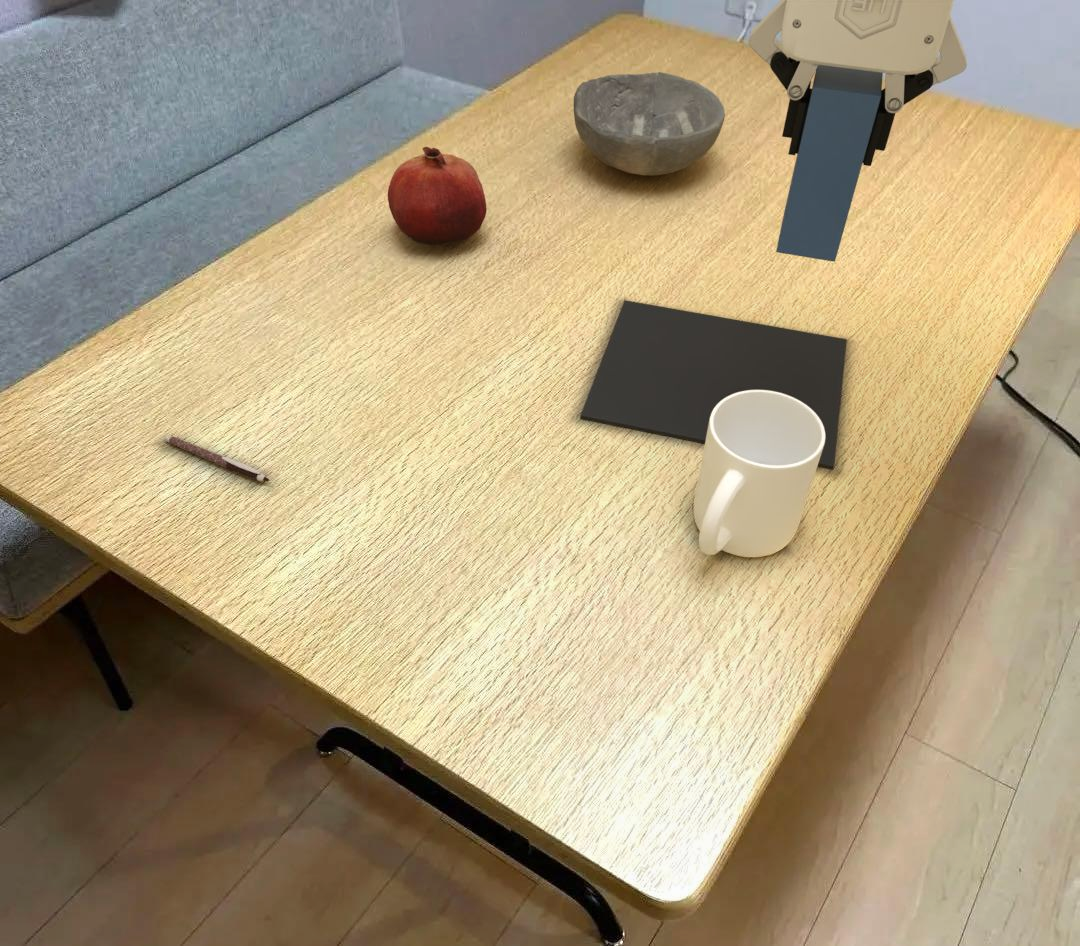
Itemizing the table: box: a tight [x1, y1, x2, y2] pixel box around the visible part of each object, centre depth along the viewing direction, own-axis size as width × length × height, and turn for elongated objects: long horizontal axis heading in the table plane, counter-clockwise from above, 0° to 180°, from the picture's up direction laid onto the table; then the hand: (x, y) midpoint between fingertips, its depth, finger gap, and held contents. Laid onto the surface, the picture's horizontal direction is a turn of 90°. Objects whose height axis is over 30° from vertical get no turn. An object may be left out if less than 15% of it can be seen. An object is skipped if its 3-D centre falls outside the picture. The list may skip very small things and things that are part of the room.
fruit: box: [387, 146, 488, 246], centre depth 100 cm, size 11×10×10 cm
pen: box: [162, 435, 270, 482], centre depth 79 cm, size 11×1×1 cm, turn 63°
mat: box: [579, 299, 848, 470], centre depth 87 cm, size 22×18×1 cm
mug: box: [693, 390, 825, 558], centre depth 71 cm, size 12×8×10 cm
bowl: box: [573, 71, 726, 176], centre depth 113 cm, size 18×18×8 cm
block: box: [775, 65, 884, 262], centre depth 70 cm, size 4×4×13 cm
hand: (830, 149), depth 69 cm, fingers closed on block, 4 cm apart
